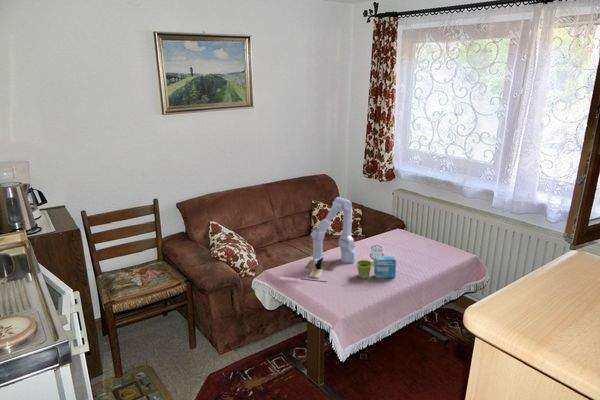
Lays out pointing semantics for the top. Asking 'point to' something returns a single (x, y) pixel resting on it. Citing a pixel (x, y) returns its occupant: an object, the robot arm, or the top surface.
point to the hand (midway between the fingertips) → (318, 269)
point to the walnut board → (322, 265)
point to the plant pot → (364, 268)
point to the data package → (385, 267)
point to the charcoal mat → (314, 280)
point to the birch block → (316, 273)
